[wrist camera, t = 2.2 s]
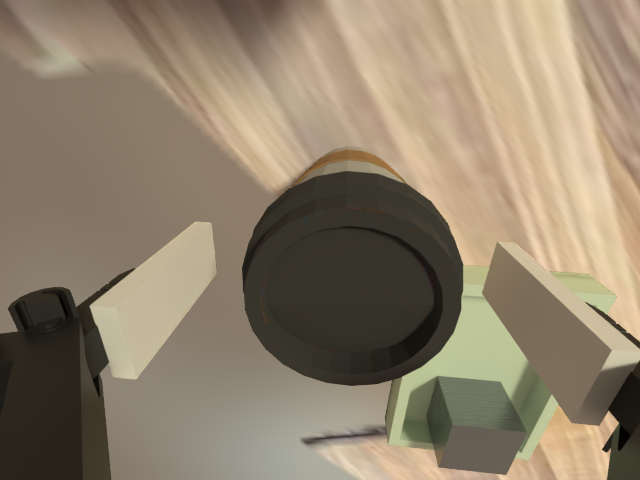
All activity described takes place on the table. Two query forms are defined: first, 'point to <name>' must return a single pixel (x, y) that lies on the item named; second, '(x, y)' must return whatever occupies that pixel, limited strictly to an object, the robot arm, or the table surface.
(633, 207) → the table surface
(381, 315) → the coffee cup
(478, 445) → the cube
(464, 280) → the green tray
